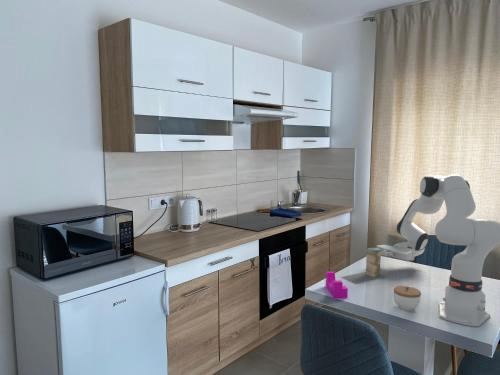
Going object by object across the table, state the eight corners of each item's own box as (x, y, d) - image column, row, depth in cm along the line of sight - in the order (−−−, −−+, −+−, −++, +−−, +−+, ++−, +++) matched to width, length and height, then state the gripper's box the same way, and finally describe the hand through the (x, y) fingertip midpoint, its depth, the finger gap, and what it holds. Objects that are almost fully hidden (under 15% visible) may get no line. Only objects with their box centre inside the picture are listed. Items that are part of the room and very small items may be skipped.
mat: (370, 271, 209) (370, 270, 208) (386, 277, 199) (386, 276, 199) (340, 278, 198) (340, 277, 198) (355, 284, 188) (355, 283, 188)
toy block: (347, 298, 172) (348, 282, 171) (333, 298, 171) (334, 282, 170) (338, 286, 186) (338, 271, 186) (325, 286, 186) (326, 271, 185)
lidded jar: (392, 301, 168) (393, 280, 167) (418, 304, 165) (420, 283, 164) (393, 310, 158) (394, 289, 157) (421, 314, 155) (422, 292, 154)
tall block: (372, 272, 205) (373, 247, 204) (379, 275, 201) (381, 249, 199) (365, 274, 203) (367, 248, 201) (373, 277, 198) (374, 250, 197)
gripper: (386, 241, 220) (369, 244, 213) (417, 249, 202) (399, 252, 195) (385, 251, 220) (368, 255, 214) (416, 261, 203) (399, 264, 196)
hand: (383, 254), depth 204 cm, fingers closed
